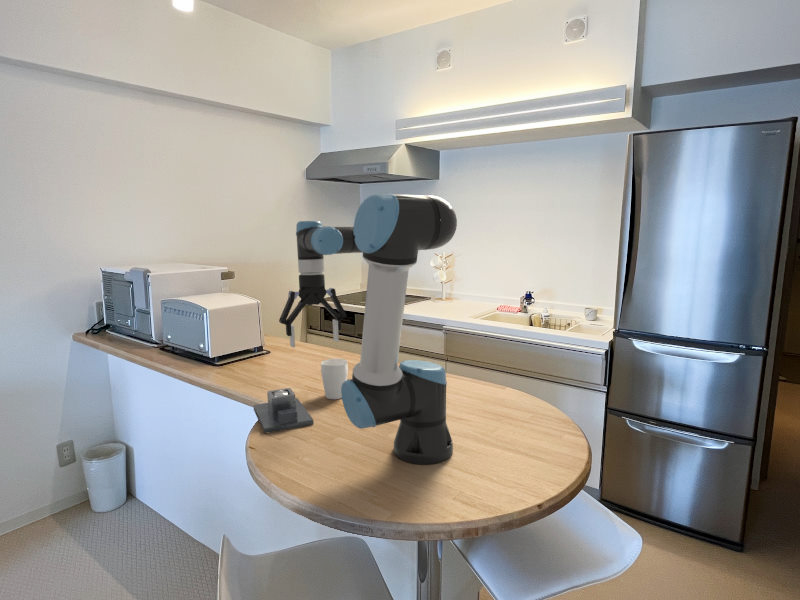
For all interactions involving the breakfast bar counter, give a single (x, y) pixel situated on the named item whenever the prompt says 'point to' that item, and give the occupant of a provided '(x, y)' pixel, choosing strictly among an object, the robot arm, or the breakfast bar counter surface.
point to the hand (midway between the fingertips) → (314, 343)
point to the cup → (333, 377)
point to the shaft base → (282, 416)
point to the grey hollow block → (280, 401)
